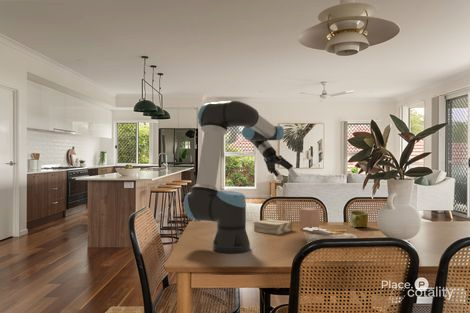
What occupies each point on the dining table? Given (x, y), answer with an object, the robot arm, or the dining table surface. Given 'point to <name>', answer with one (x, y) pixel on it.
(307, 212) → the terracotta block
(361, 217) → the mug
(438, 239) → the dining table surface
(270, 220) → the ash block
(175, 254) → the dining table surface
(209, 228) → the dining table surface
